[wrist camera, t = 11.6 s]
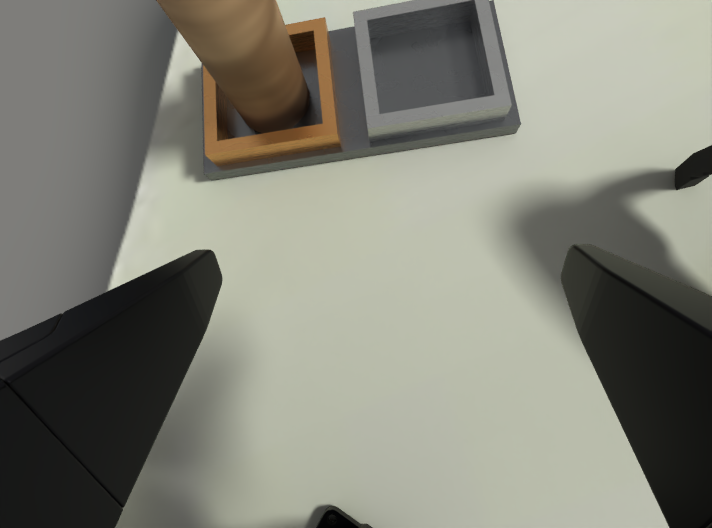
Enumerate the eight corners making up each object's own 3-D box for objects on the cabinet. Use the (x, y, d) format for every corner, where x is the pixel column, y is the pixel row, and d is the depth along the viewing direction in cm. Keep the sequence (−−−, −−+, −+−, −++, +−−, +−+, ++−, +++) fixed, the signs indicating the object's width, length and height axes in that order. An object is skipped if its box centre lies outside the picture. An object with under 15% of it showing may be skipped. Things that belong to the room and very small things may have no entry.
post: (300, 138, 23) (183, -95, 11) (231, 129, 24) (44, -100, 11) (316, 72, 24) (225, -220, 11) (249, 65, 25) (92, -217, 12)
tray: (489, 13, 25) (499, -22, 22) (515, 133, 23) (529, 108, 20) (208, 65, 26) (189, 38, 24) (211, 180, 25) (191, 163, 22)
